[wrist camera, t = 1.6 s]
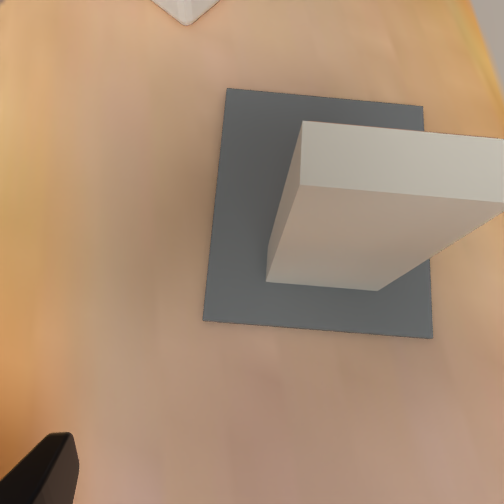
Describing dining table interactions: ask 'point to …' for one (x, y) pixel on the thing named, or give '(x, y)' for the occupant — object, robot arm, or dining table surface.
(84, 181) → the dining table surface
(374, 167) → the block
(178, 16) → the pepper shaker
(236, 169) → the mat
